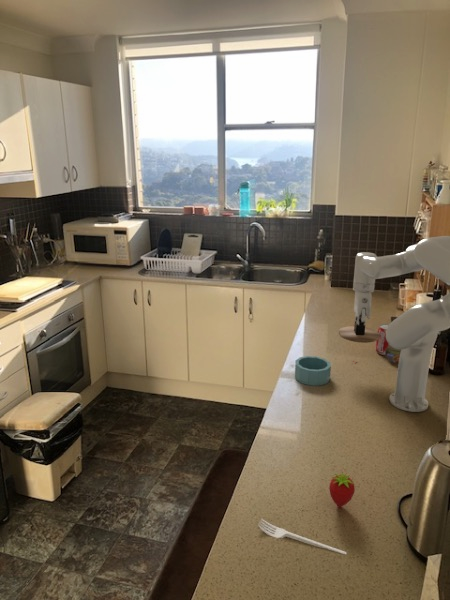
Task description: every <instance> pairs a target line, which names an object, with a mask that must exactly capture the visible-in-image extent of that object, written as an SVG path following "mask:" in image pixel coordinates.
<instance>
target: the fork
mask: <svg viewBox="0 0 450 600" xmlns="http://www.w3.org/2000/svg"><path fill="white" fill-rule="evenodd" d="M257 527H258V528H260V530H261V531H263V532H264V533H265V534H266V535H267V536H269V537H273V538H276V539H283V538H290V539H293V540H296V541H298V542H301V543H304V544H308V545H311V546H315V547H318V548H322V549H325V550H329V551H332V552H336V553H338V554H339V553H340V554H342V555H347V551H344V550H341V549H339V548H335V547H334V546H330V545H327V544H324V543H322V542H318V541H315V540H313V539H310V538H307V537H305V536H301V535H299V534H295V533H293V532H290V531H288V530H286V529H285V528H281V527H278V526H275V525H273V524H271V523H269V522H268V521H266V520H264V518H261V517H260V520H259V522H258V524H257Z"/></svg>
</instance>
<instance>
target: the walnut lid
mask: <svg viewBox="0 0 450 600" xmlns="http://www.w3.org/2000/svg"><path fill="white" fill-rule="evenodd" d="M354 325H355V331H354ZM354 325H348V326H344V327H340V328H339V329H338V335H339V337H341V338H342V339H345V340H347V341H349V342H355V343H362V344H363V343H365V344H366V343H367V344H368V343H374V342H376V341H377V340H378V339H379V338H380V334H379V333H378V330H375V329H373V328H370V327H366V326H365V334H364V335H356V334H355V333H356V325H357V321H356V324H355V323H354Z"/></svg>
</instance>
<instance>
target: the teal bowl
mask: <svg viewBox="0 0 450 600" xmlns="http://www.w3.org/2000/svg"><path fill="white" fill-rule="evenodd" d="M294 366H295V367H294V379H295V380H296V381H297V382H298V383H300V384H303V385H306V386H312V387H313V386H314V387H317V386H324V385H326V384H328V383H329V382H330V379H331V372H332V371H331V369H332V365H331V362H330V361H329V360H327V359H325V358H323V357H319V356H314V355H313V356H312V355H305V356H301V357H299V358H296V360H295V364H294Z"/></svg>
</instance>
